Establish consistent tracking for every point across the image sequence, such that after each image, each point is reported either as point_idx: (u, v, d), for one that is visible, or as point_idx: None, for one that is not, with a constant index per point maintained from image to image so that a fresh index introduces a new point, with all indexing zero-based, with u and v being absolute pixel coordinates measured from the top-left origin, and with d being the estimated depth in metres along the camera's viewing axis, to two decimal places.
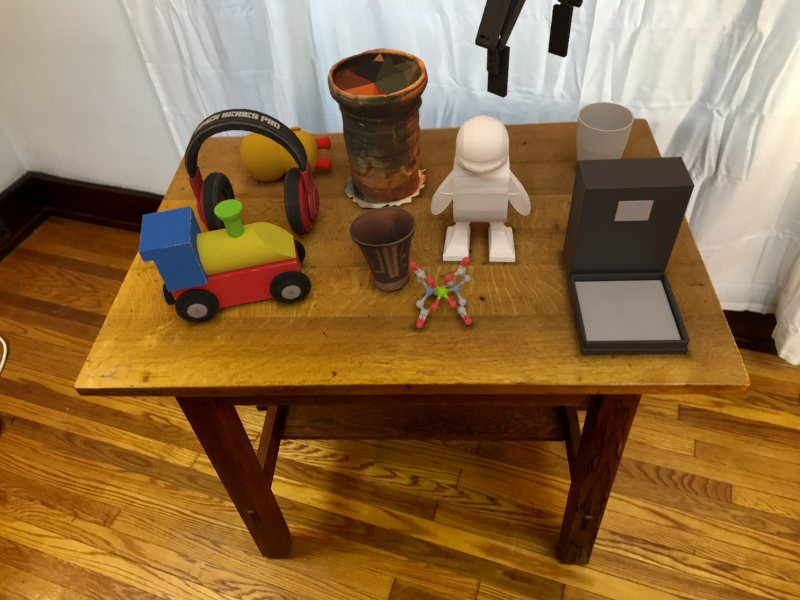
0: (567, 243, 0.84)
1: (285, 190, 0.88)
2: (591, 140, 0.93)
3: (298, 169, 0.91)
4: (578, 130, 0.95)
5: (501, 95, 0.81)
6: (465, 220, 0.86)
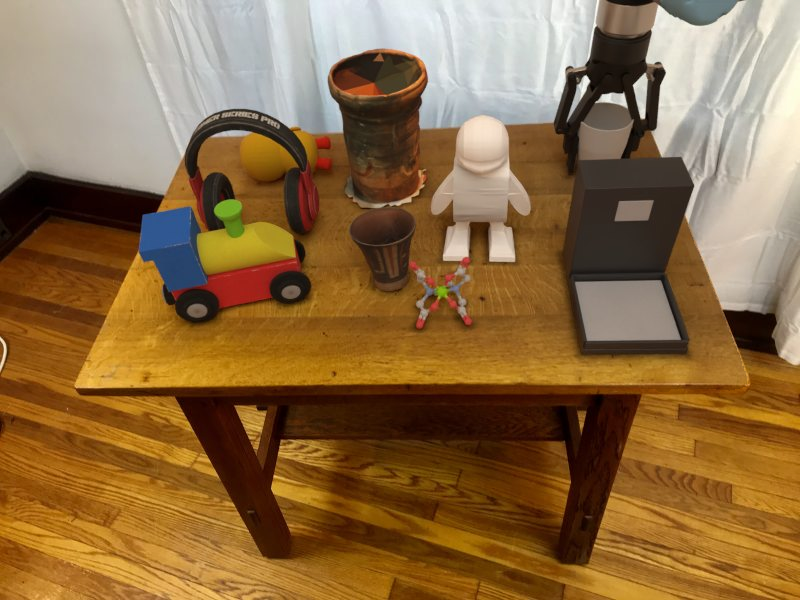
0: (567, 243, 0.84)
1: (285, 190, 0.88)
2: (591, 140, 0.93)
3: (298, 169, 0.91)
4: (578, 130, 0.95)
5: (568, 171, 1.00)
6: (465, 220, 0.86)
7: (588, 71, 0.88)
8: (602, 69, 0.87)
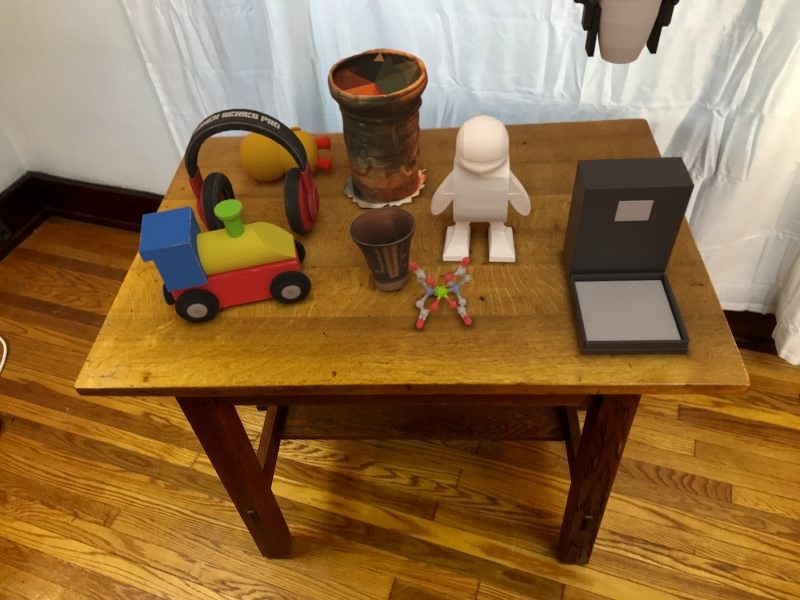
0: (567, 243, 0.84)
1: (285, 190, 0.88)
2: (616, 7, 0.79)
3: (298, 169, 0.91)
4: None
5: (587, 54, 0.85)
6: (465, 220, 0.86)
7: None
8: None
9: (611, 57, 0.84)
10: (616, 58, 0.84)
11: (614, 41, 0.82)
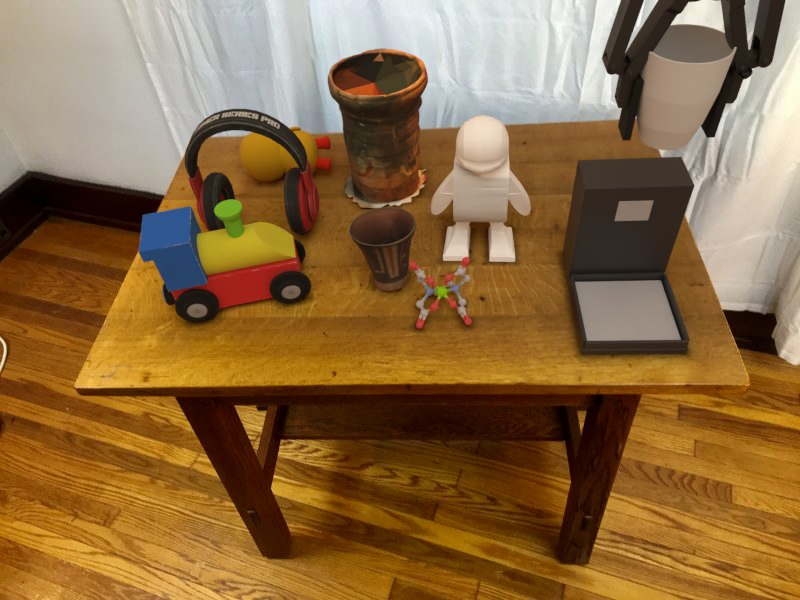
0: (567, 243, 0.84)
1: (285, 190, 0.88)
2: (666, 81, 0.57)
3: (298, 169, 0.91)
4: None
5: (622, 136, 0.64)
6: (465, 220, 0.86)
7: None
8: None
9: (654, 142, 0.63)
10: (661, 143, 0.63)
11: (661, 122, 0.61)
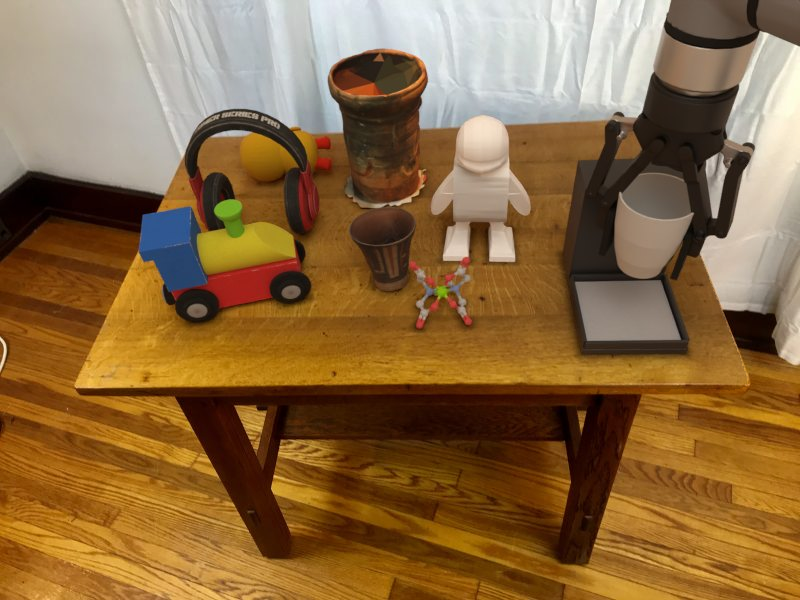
0: (567, 243, 0.84)
1: (285, 190, 0.88)
2: (623, 221, 0.66)
3: (298, 169, 0.91)
4: (618, 202, 0.68)
5: None
6: (465, 220, 0.86)
7: (635, 126, 0.61)
8: (654, 129, 0.60)
9: (620, 265, 0.72)
10: (625, 268, 0.71)
11: (623, 252, 0.70)
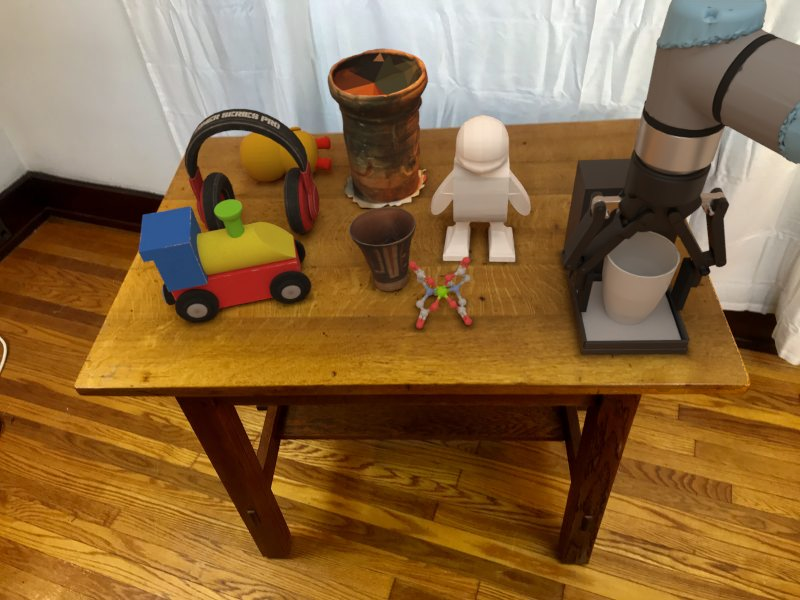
0: None
1: (285, 190, 0.88)
2: (623, 285, 0.71)
3: (298, 169, 0.91)
4: (606, 268, 0.73)
5: (579, 309, 0.77)
6: (465, 220, 0.86)
7: (623, 205, 0.65)
8: (641, 204, 0.65)
9: (617, 319, 0.77)
10: (622, 321, 0.77)
11: (621, 308, 0.75)
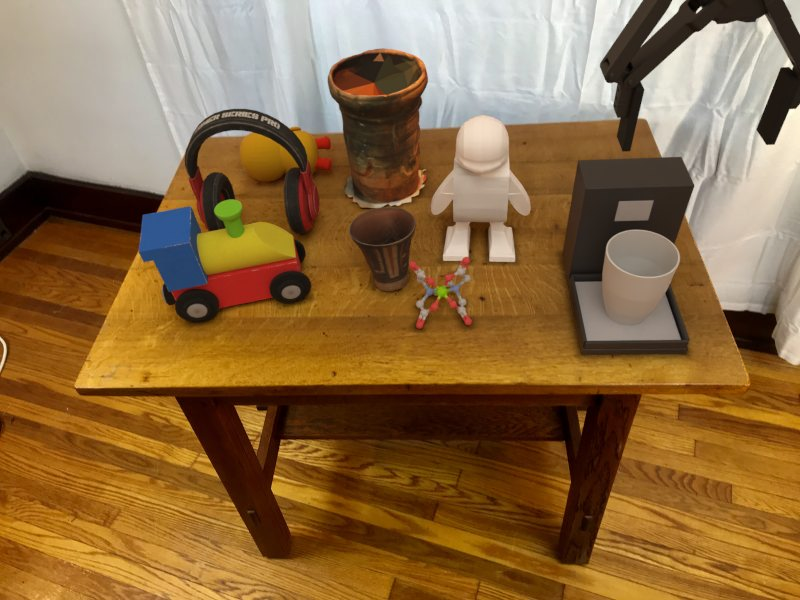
0: (567, 243, 0.84)
1: (285, 190, 0.88)
2: (623, 285, 0.71)
3: (298, 169, 0.91)
4: (606, 268, 0.73)
5: (622, 147, 0.61)
6: (465, 220, 0.86)
7: None
8: None
9: (617, 319, 0.77)
10: (622, 321, 0.77)
11: (621, 308, 0.75)
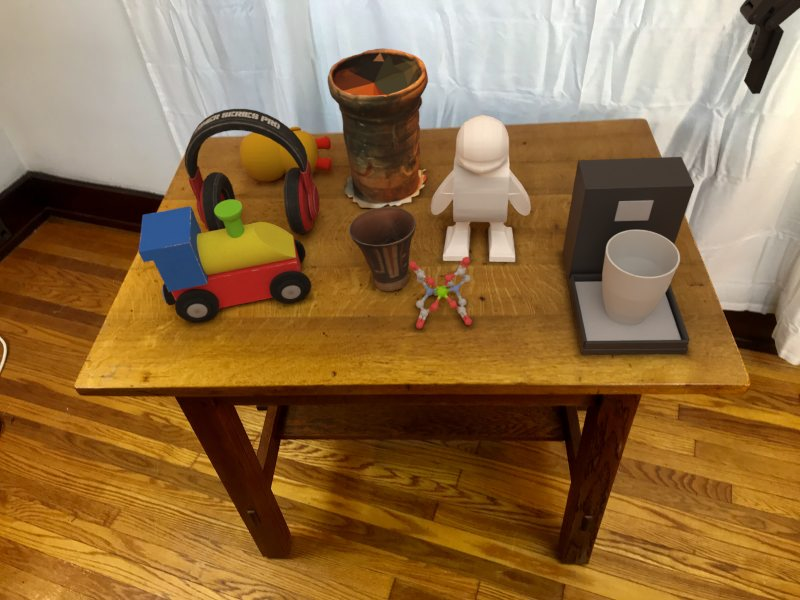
0: (567, 243, 0.84)
1: (285, 190, 0.88)
2: (623, 285, 0.71)
3: (298, 169, 0.91)
4: (606, 268, 0.73)
5: (752, 90, 0.64)
6: (465, 220, 0.86)
7: None
8: None
9: (617, 319, 0.77)
10: (622, 321, 0.77)
11: (621, 308, 0.75)
